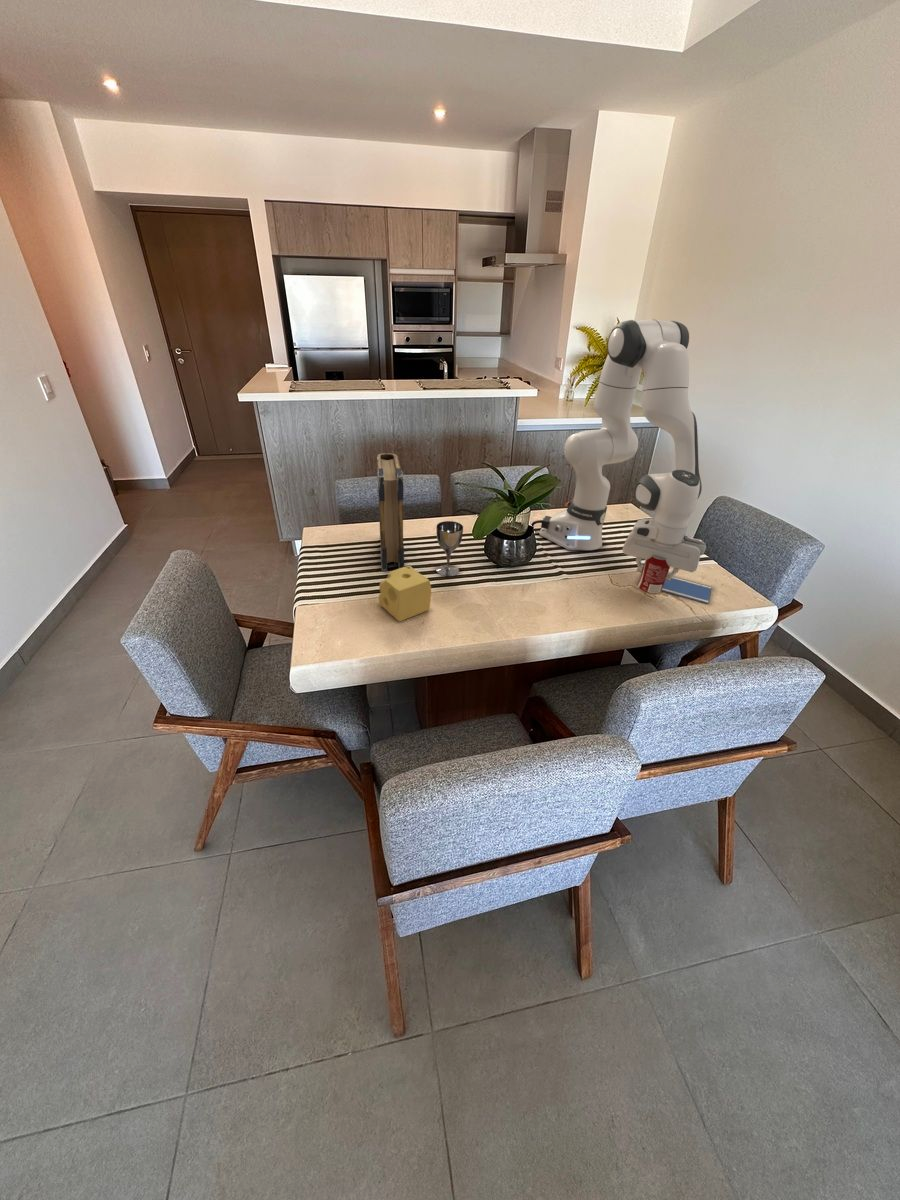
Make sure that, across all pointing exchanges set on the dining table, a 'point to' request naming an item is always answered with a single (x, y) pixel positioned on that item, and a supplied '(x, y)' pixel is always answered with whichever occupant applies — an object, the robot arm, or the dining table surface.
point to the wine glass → (449, 544)
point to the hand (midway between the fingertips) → (653, 574)
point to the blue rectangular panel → (687, 589)
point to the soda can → (653, 575)
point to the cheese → (405, 593)
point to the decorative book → (390, 509)
